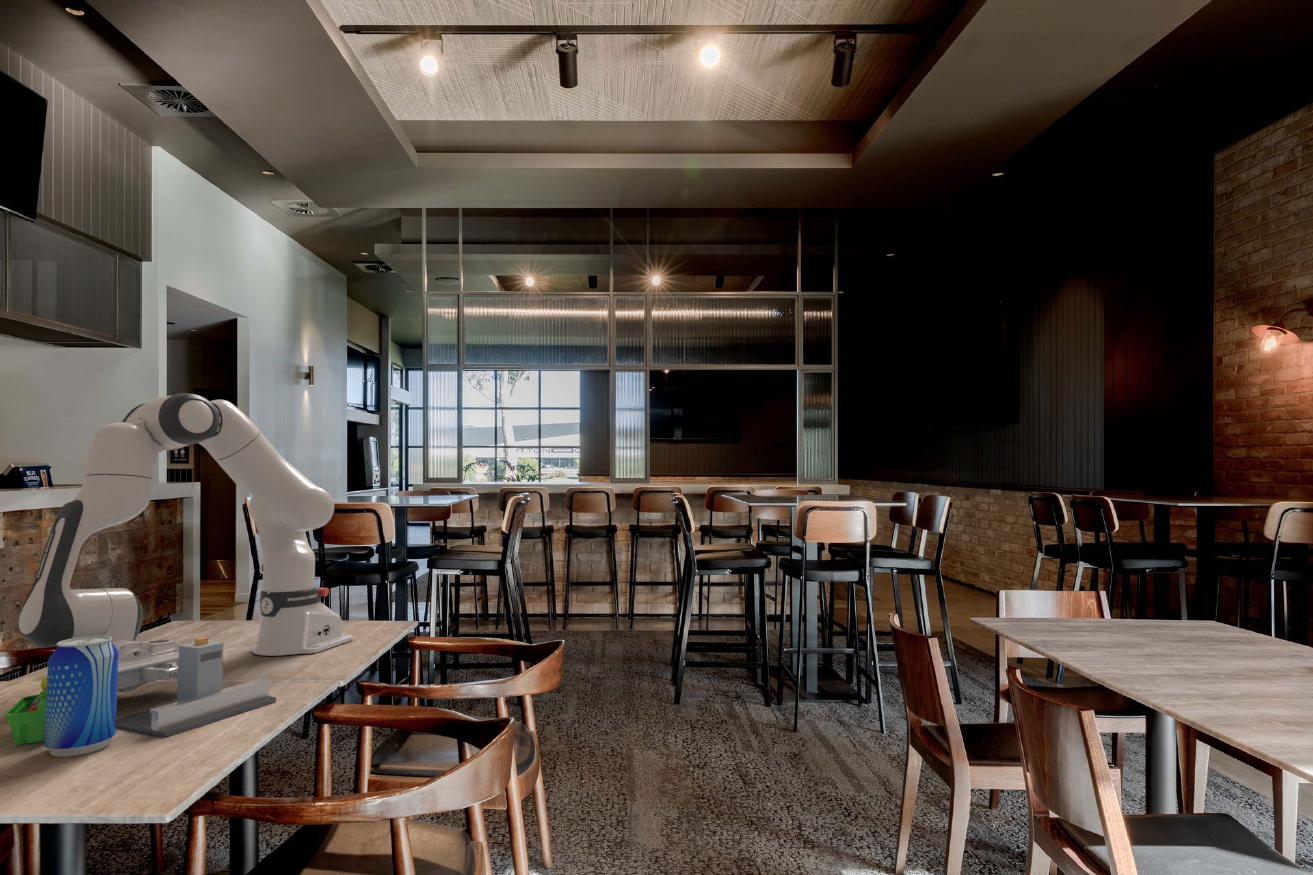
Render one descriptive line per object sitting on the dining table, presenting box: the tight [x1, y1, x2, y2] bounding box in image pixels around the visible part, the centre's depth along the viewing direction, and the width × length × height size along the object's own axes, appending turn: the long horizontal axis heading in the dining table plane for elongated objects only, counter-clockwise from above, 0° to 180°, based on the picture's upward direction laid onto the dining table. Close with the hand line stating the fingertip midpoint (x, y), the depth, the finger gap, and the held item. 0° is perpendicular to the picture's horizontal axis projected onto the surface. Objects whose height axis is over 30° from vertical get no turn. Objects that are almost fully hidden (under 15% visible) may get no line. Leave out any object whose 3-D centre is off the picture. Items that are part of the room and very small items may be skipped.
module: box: [176, 636, 224, 702], centre depth 127 cm, size 4×5×12 cm
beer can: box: [43, 636, 118, 758], centre depth 111 cm, size 8×8×16 cm
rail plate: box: [116, 678, 277, 738], centre depth 127 cm, size 20×14×4 cm
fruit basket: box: [4, 675, 47, 746], centre depth 117 cm, size 11×9×11 cm
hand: (174, 673), depth 130 cm, fingers closed
